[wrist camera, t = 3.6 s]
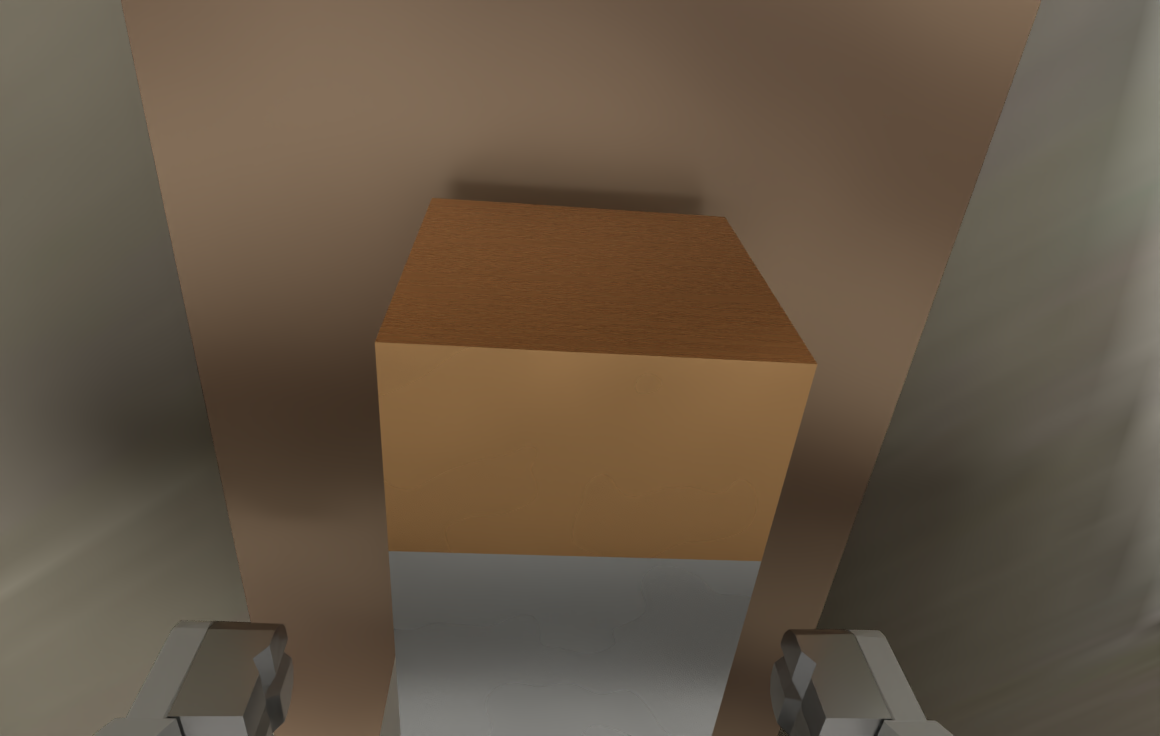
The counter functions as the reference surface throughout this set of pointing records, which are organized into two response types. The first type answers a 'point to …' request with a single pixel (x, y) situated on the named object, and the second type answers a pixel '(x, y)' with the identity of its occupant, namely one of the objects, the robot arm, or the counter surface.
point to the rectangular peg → (578, 466)
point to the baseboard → (557, 178)
